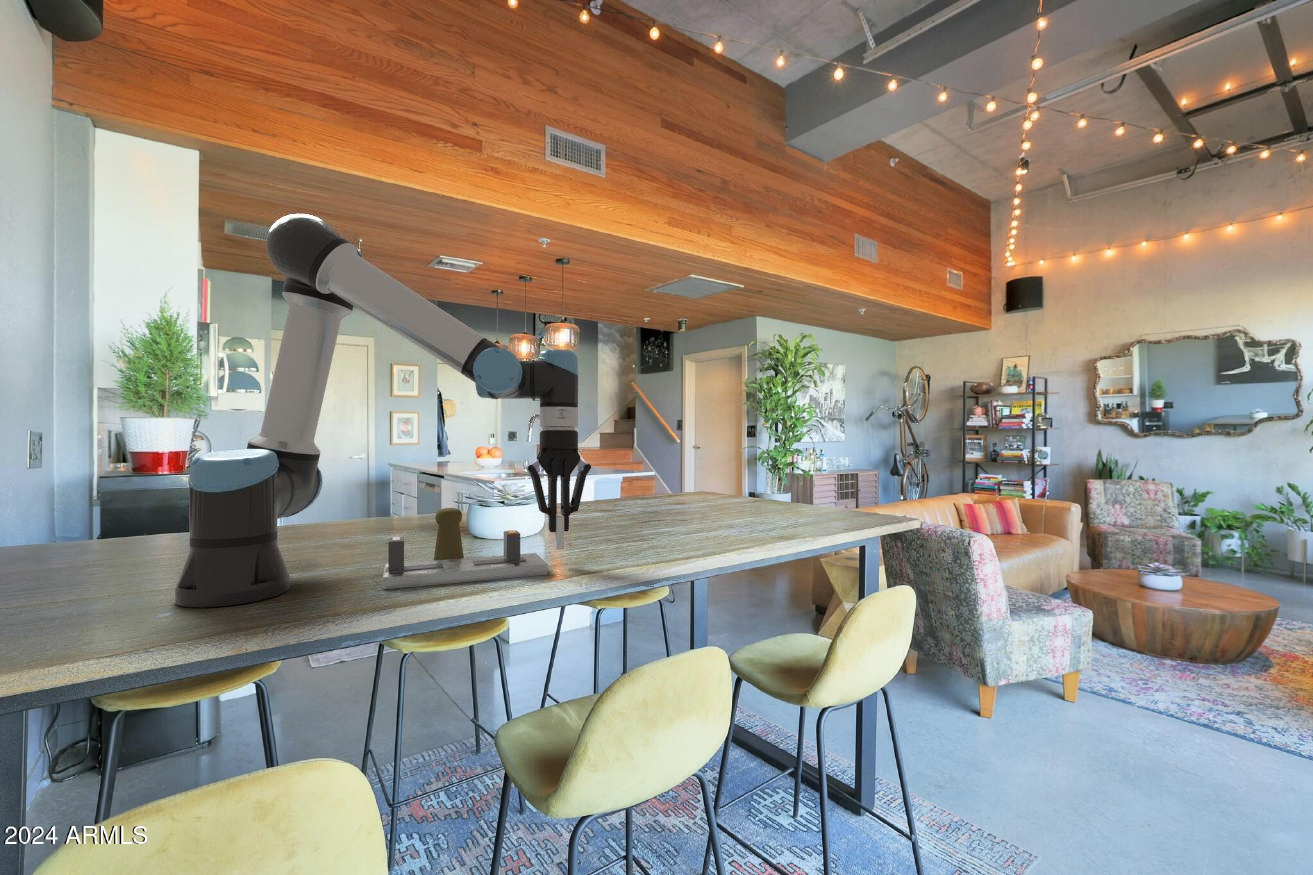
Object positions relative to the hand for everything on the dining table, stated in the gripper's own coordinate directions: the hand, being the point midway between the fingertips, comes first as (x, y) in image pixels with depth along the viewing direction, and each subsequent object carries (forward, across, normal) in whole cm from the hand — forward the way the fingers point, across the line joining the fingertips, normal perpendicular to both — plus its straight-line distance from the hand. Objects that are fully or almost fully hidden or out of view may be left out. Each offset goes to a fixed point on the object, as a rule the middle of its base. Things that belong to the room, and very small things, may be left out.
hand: (558, 548), depth 117 cm
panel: (+4, -17, 0) cm, 18 cm away
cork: (+4, -20, +13) cm, 24 cm away
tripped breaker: (+1, -9, 0) cm, 9 cm away
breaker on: (+1, -29, 0) cm, 29 cm away
